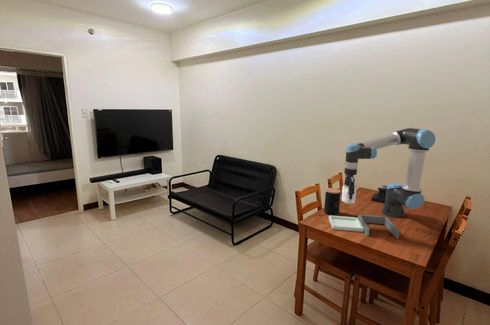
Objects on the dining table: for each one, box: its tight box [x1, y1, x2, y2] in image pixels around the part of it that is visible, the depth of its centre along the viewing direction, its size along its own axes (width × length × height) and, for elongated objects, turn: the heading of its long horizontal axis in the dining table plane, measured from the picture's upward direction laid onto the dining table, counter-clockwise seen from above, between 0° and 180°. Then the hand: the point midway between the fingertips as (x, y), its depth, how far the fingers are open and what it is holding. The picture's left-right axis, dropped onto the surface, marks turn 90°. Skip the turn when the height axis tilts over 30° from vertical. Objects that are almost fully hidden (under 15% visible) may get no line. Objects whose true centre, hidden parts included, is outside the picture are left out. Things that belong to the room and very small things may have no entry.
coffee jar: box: [323, 187, 342, 216], centre depth 196 cm, size 11×11×18 cm
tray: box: [328, 215, 365, 233], centre depth 177 cm, size 19×17×2 cm
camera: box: [370, 184, 388, 204], centre depth 224 cm, size 16×14×15 cm
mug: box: [341, 184, 358, 204], centre depth 172 cm, size 9×12×11 cm
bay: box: [357, 214, 400, 240], centre depth 171 cm, size 18×22×5 cm
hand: (347, 200), depth 174 cm, fingers closed on mug, 11 cm apart
